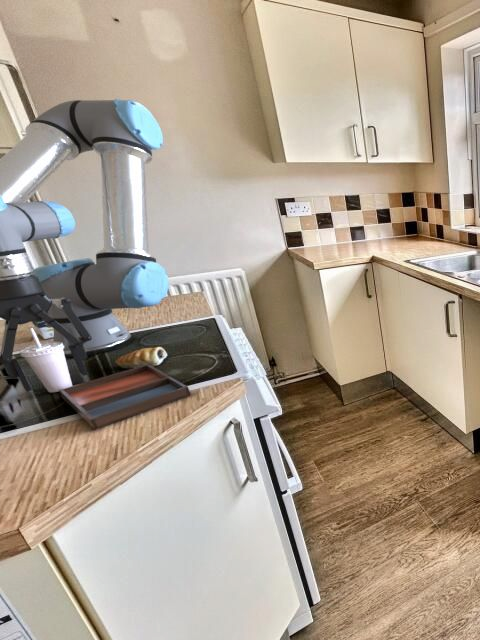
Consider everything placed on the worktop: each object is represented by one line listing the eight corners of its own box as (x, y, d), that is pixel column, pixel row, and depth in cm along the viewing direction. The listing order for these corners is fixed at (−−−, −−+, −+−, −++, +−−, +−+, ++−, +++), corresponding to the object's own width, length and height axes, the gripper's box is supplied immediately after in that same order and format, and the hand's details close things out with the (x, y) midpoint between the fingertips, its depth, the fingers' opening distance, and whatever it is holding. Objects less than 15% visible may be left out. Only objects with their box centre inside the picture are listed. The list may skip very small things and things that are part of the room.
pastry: (111, 372, 98) (105, 357, 97) (126, 361, 104) (120, 347, 103) (159, 366, 101) (154, 351, 100) (170, 356, 107) (166, 342, 106)
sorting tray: (62, 398, 87) (58, 389, 86) (151, 371, 98) (148, 363, 97) (94, 429, 75) (90, 420, 74) (191, 395, 86) (187, 386, 86)
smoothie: (33, 398, 87) (1, 334, 82) (47, 385, 92) (18, 325, 87) (74, 390, 90) (46, 329, 85) (85, 379, 95) (60, 320, 90)
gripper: (-77, 290, 72) (-14, 406, 80) (85, 269, 88) (124, 367, 96) (-81, 286, 76) (-20, 396, 84) (75, 265, 92) (113, 360, 100)
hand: (57, 381), depth 90 cm, fingers open, 8 cm apart
